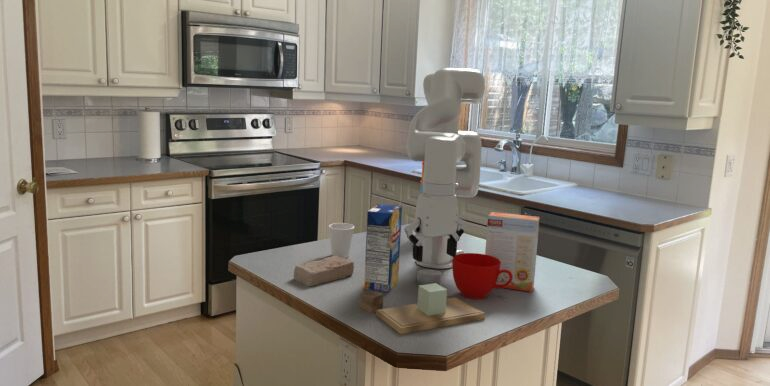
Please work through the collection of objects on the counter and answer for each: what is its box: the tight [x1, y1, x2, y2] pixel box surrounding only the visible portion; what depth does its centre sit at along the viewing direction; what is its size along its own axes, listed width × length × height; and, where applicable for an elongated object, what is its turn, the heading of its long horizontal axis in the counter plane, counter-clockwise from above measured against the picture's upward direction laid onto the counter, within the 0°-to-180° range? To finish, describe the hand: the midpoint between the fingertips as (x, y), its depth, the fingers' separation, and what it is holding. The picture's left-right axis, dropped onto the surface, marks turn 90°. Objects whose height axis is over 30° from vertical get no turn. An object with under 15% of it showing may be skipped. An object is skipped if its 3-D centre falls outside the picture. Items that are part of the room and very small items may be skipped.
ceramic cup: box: [451, 252, 513, 300], centre depth 166 cm, size 13×17×10 cm
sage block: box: [417, 283, 448, 316], centre depth 150 cm, size 5×5×6 cm
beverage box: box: [363, 203, 403, 293], centre depth 170 cm, size 7×11×22 cm, turn 164°
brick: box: [293, 255, 355, 287], centre depth 176 cm, size 17×8×5 cm, turn 135°
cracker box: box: [484, 211, 540, 293], centre depth 175 cm, size 14×6×21 cm, turn 71°
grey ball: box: [416, 268, 443, 286], centre depth 176 cm, size 7×7×3 cm
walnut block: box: [359, 290, 384, 314], centre depth 154 cm, size 4×4×4 cm
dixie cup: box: [328, 222, 355, 259], centre depth 198 cm, size 8×8×10 cm
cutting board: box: [375, 296, 486, 335], centre depth 150 cm, size 24×12×2 cm, turn 119°
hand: (434, 257), depth 148 cm, fingers open, 9 cm apart
